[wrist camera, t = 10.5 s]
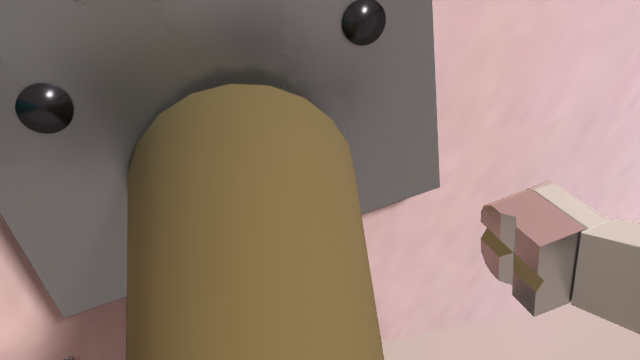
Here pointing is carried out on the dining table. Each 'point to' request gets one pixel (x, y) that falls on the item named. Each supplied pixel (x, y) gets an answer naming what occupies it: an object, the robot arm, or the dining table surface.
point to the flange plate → (174, 85)
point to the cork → (246, 234)
